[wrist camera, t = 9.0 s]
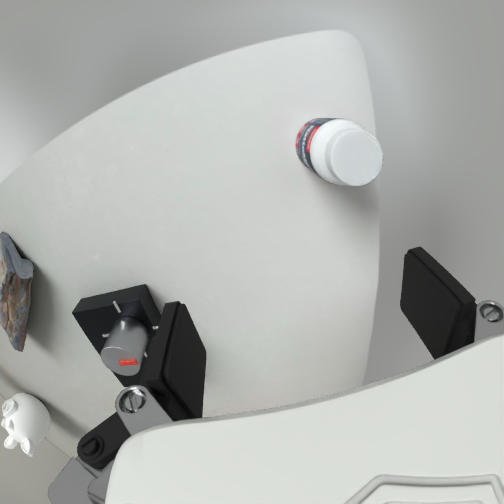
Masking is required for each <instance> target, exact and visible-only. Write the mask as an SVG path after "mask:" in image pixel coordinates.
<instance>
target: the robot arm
mask: <svg viewBox="0 0 504 504" xmlns="http://www.w3.org/2000/svg"><path fill="white" fill-rule="evenodd" d="M400 306H401V310H402V312H403V313H404V314H405V316H406V317H407V319H408V320H409V322H410V323H411V325H412V326H413V328H414V329H415V330H416V332H417V333H418V335H419V336H420V338H421V339H422V341H423V343H424V344H425V346H426V347H427V349H428V350H429V352H430V353H431V355H432V357H433V358H434V360H433V361H430V362H428V363H426V364H423V365H421V366H418V367H416V368H413V369H411V370H408V371H406V372H403V373H400V374H397V375H395V376H392V377H389V378H386V379H383V380H380V381H377V382H374V383H371V384H368V385H364V386H361V387H358V388H354V389H351V390H348V391H344V392H340V393H337V394H333V395H329V396H325V397H321V398H317V399H313V400H309V401H304V402H300V403H295V404H290V405H285V406H280V407H275V408H269V409H263V410H257V411H251V412H244V413H237V414H230V415H222V416H214V417H204V418H202V412H203V396H204V382H205V369H206V350H205V347H204V345H203V343H202V341H201V339H200V337H199V334H198V332H197V330H196V328H195V326H194V323H193V321H192V319H191V317H190V314H189V312H188V310H187V307H186V305H185V304H181V303H180V302H179V301H176V302H171V303H166V304H165V306H164V309H163V312H162V316H161V319H160V322H159V326H158V329H157V333H156V336H154V337H153V338H152V340H151V344H150V347H149V351H148V354H147V358H146V361H145V365H144V368H143V372H142V376H141V380H140V383H139V385H133V386H130V387H128V388H126V389H124V390H123V391H122V392H120V394H119V395H118V397H117V399H116V401H115V408H116V411H117V412H116V413H114V414H113V415H112V416H110V417H109V418H107V419H106V420H105V421H103V422H102V423H101V424H99V425H98V426H97V427H95V428H94V429H93V430H91V431H90V432H88V433H87V434H86V435H84V436H83V437H82V438H81V440H80V441H79V443H78V447H77V453H78V456H77V458H74V457H72V459H71V460H70V461H69V462H68V464H67V465H66V466H65V467H64V469H63V470H62V471H61V472H60V473H59V475H58V476H57V477H56V479H55V480H54V481H53V482H52V483H51V485H50V487H49V489H48V497H49V499H50V501H51V503H52V504H504V308H503V307H502V306H501V305H500V304H499V303H497V302H495V301H490V300H488V301H487V300H486V301H482V302H481V303H479V304H478V305H477V304H476V303H475V298H474V297H473V296H472V295H471V294H470V293H469V292H468V291H467V290H466V289H465V288H464V287H463V286H462V285H461V284H460V283H459V282H458V281H457V280H456V279H455V278H454V277H453V276H452V275H451V274H450V273H449V272H448V271H447V270H446V269H445V268H444V267H443V266H442V265H440V264H439V263H438V262H437V261H436V260H435V259H434V258H433V257H432V256H431V255H429V254H428V253H427V252H426V251H425V250H424V249H423V248H422V247H416V248H413V249H409V250H408V252H407V254H405V257H404V270H403V281H402V292H401V301H400Z"/></svg>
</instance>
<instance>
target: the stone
mask: <svg viewBox="0 0 504 504" xmlns="http://www.w3.org/2000/svg"><path fill="white" fill-rule="evenodd" d="M33 269H34V267H33V265H32V263H31V261H30V260H27V259H22V258H21V257H20V255H19V253H18V252H17V250H16V248H15V246H14V244H13V242H12V240H11V239H10V237H9V235H8V234H7V233H5V232H1V234H0V324H1V326H2V327H3V329H4V330H5V331H6V333H7V334H8V337H9V340H10V342H11V344H12V346H13V347H14V349H15V350H18V351H20V352H22V351H23V349H24V345H25V339H26V334H27V328H26V324H27V320H28V314H29V307H30V303H31V298H30V286H31V282H32V280H33Z"/></svg>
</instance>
